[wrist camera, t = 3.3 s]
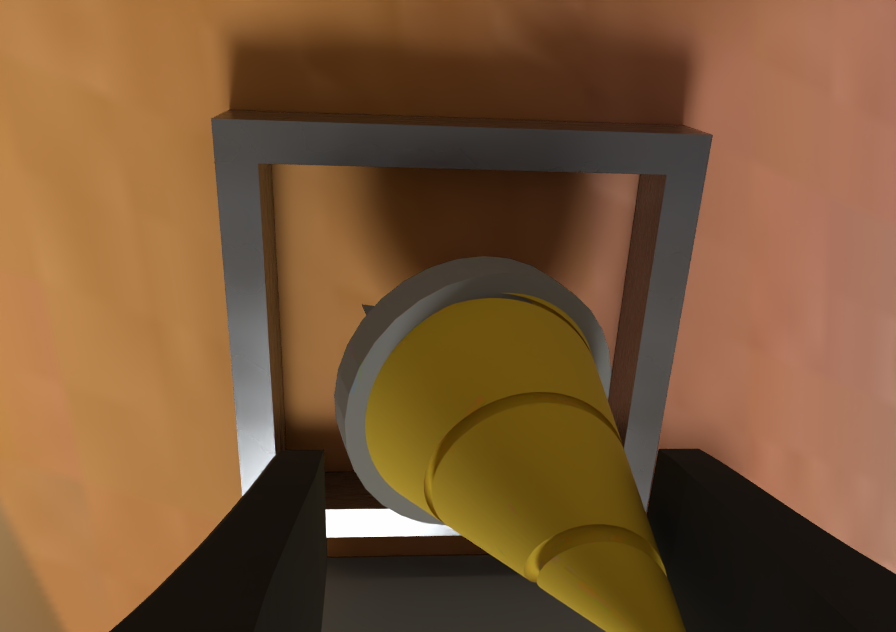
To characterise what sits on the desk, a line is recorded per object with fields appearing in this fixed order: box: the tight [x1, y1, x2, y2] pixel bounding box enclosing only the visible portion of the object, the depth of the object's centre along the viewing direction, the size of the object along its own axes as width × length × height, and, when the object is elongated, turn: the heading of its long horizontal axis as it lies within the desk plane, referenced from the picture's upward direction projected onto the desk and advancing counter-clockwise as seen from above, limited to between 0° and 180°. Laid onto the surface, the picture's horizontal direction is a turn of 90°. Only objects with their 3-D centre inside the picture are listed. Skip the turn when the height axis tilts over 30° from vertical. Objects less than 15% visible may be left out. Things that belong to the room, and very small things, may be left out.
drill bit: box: [334, 256, 686, 632], centre depth 12 cm, size 5×5×10 cm
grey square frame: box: [211, 110, 713, 537], centre depth 16 cm, size 10×10×2 cm
